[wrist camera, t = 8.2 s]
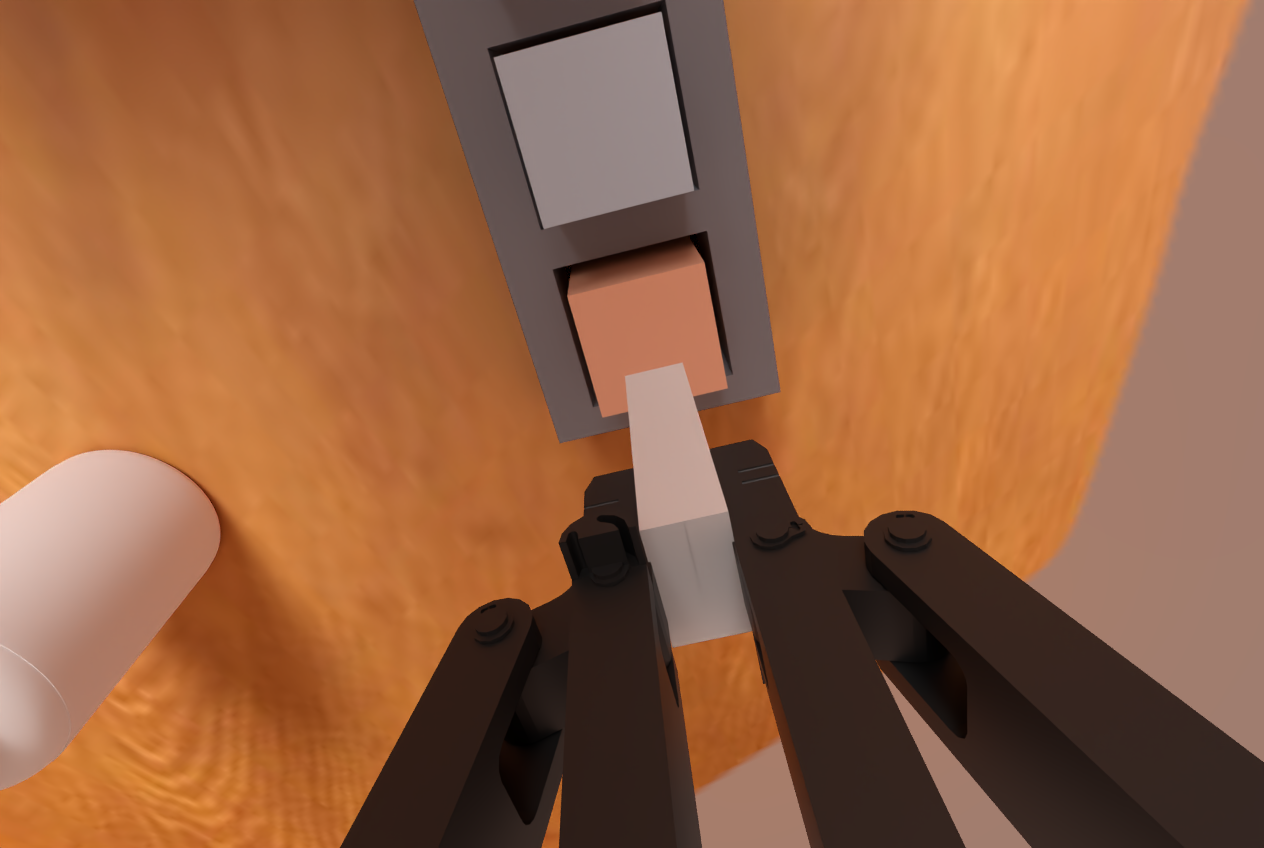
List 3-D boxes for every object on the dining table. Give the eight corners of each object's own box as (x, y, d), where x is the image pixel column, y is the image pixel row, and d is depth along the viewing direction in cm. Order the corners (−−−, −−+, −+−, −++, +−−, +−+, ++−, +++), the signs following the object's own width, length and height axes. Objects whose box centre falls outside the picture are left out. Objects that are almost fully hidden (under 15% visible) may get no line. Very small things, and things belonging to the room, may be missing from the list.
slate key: (553, 205, 24) (543, 228, 20) (512, 63, 22) (493, 57, 18) (678, 173, 23) (694, 190, 19) (649, 26, 21) (661, 11, 17)
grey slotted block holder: (564, 401, 30) (559, 443, 26) (365, -230, 20) (315, -299, 17) (758, 355, 29) (780, 391, 26) (651, -318, 20) (663, -410, 16)
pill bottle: (206, 601, 34) (-43, 927, 21) (37, 544, 32) (-360, 865, 19) (247, 486, 31) (-15, 781, 18) (63, 416, 29) (-387, 689, 16)
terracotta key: (601, 370, 28) (602, 417, 24) (572, 264, 26) (567, 296, 22) (709, 344, 27) (727, 388, 23) (687, 235, 25) (704, 262, 21)
